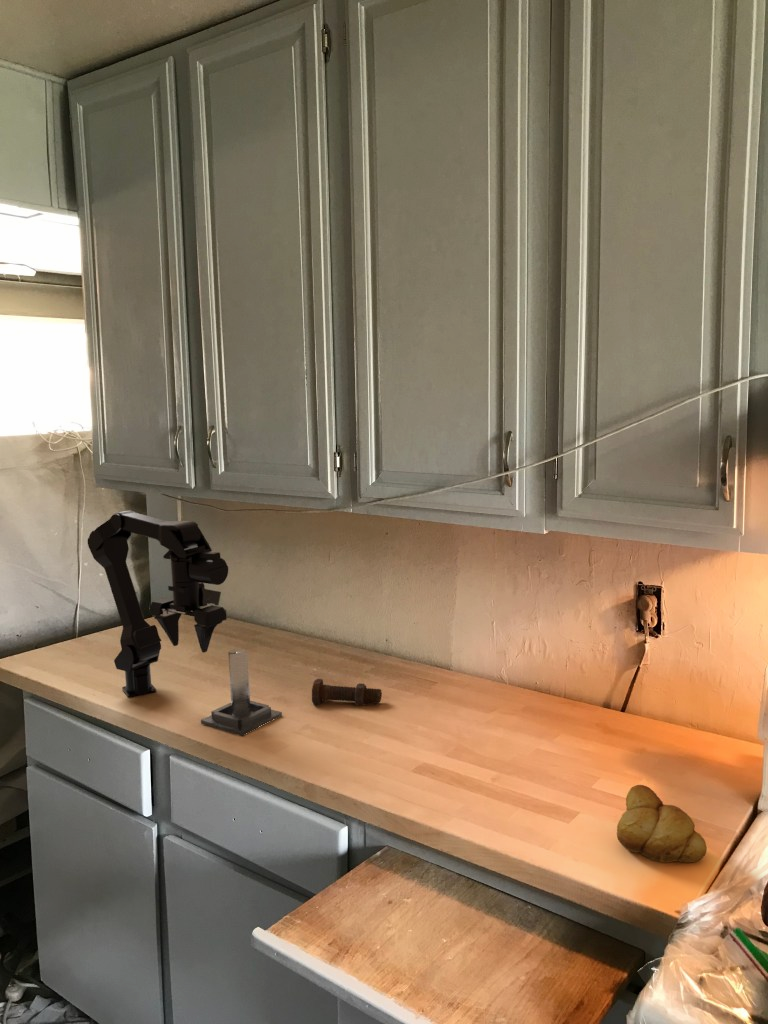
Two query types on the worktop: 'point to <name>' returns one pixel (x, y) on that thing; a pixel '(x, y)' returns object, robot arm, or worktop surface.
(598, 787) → the worktop surface
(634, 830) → the bread roll
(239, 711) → the shiny tapered metal piece
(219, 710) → the block
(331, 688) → the bolt
